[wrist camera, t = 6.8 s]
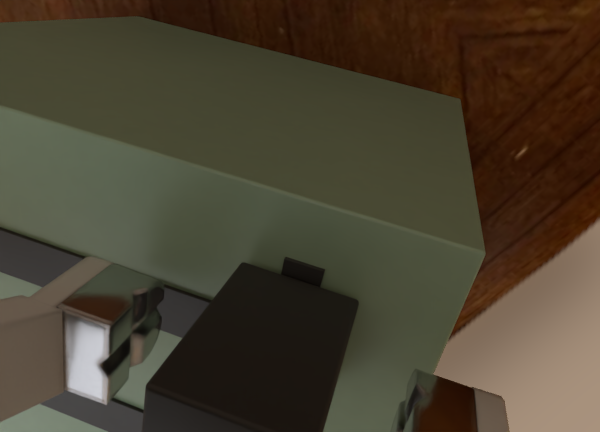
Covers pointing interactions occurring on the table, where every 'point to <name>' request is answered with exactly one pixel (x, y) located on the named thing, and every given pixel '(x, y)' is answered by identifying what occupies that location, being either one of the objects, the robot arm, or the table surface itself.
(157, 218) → the toaster
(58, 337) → the robot arm
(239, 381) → the toaster slider
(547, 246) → the table surface
